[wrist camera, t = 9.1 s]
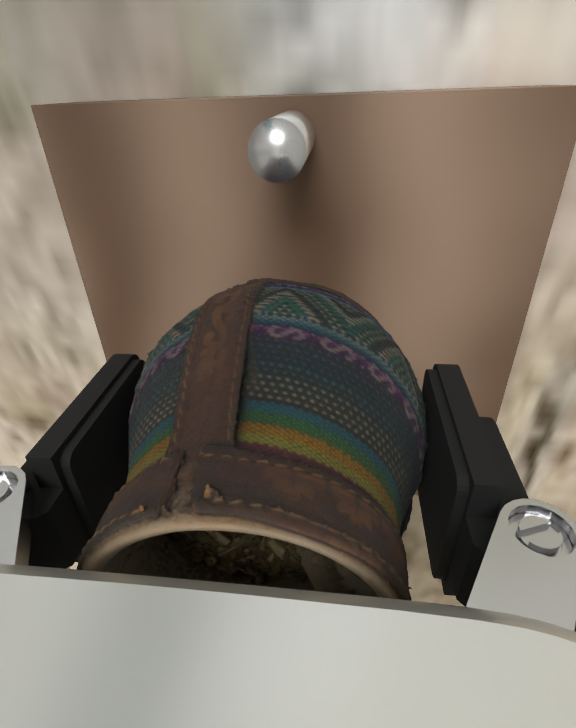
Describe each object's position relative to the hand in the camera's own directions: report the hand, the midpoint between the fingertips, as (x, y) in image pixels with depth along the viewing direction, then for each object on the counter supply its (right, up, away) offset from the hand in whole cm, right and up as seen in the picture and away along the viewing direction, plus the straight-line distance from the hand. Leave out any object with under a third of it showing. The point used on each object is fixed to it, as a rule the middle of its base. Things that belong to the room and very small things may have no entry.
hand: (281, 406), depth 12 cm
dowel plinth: (+1, +3, +5) cm, 6 cm away
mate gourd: (0, +1, +2) cm, 2 cm away
